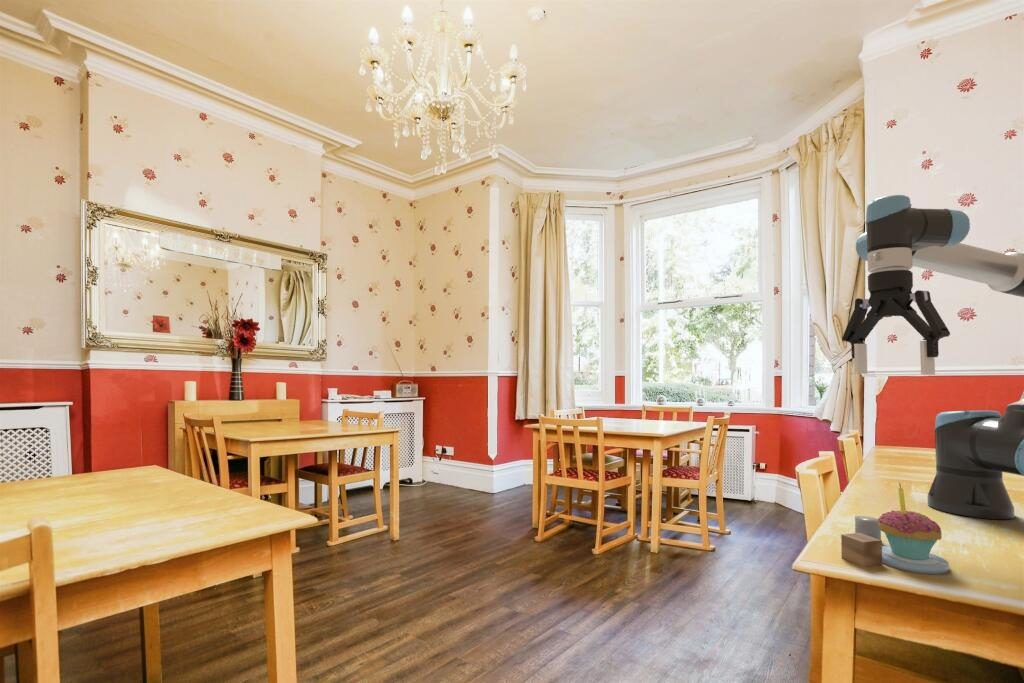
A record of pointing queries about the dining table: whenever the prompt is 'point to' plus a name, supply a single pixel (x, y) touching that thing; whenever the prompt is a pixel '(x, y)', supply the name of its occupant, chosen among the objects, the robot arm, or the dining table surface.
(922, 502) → the dining table surface
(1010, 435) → the robot arm
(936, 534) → the cupcake
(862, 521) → the grey cylinder
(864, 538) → the walnut block
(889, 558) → the saucer
